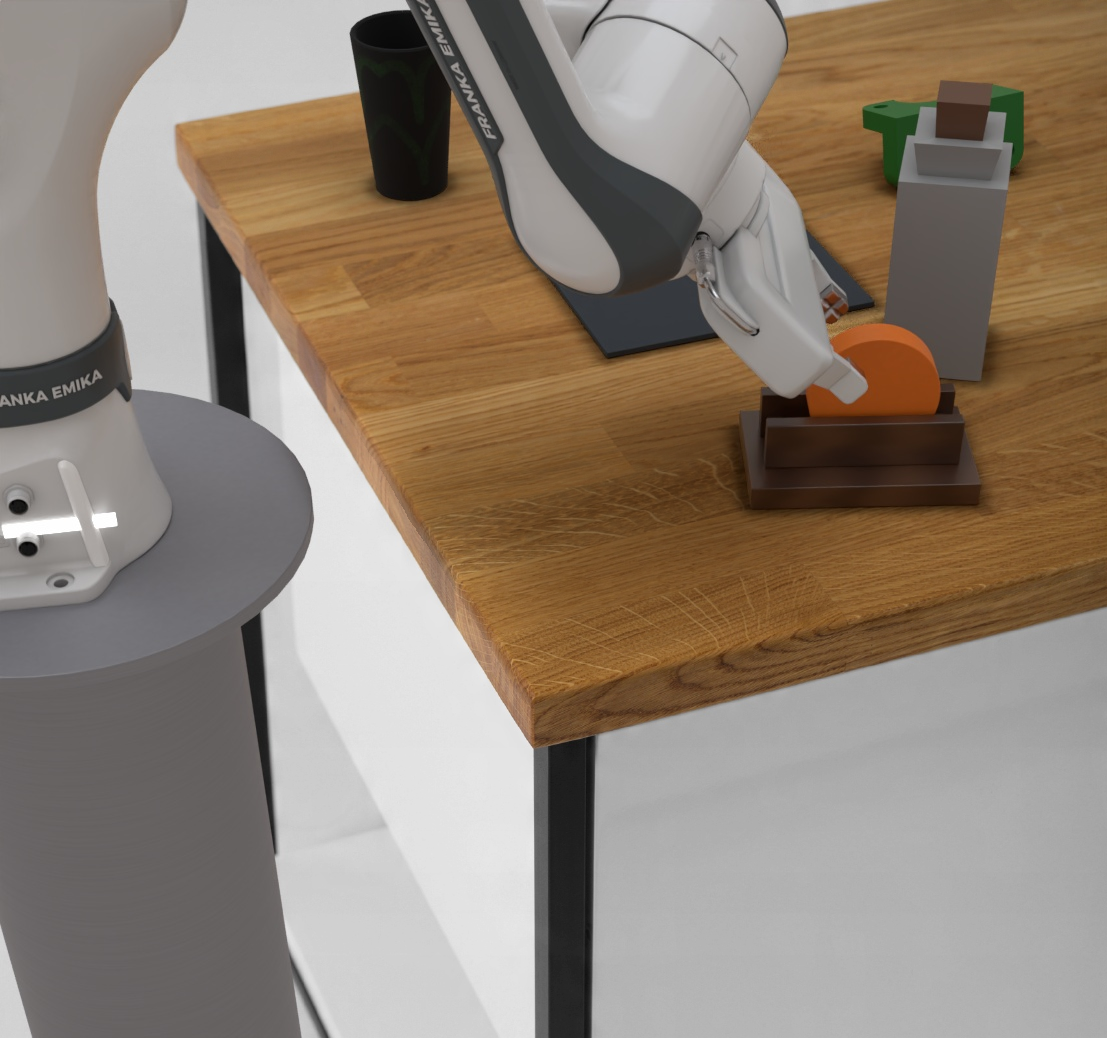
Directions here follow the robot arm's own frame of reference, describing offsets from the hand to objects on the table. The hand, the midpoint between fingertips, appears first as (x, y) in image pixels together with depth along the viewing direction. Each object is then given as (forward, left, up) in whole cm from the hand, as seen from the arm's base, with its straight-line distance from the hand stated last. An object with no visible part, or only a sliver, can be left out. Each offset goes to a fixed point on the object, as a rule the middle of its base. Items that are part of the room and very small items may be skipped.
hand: (848, 350), depth 123 cm
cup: (-14, +48, -9) cm, 51 cm away
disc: (+2, 0, -3) cm, 4 cm away
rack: (+1, 0, -9) cm, 9 cm away
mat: (+1, +27, -9) cm, 28 cm away
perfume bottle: (+12, +11, -9) cm, 19 cm away
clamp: (+25, +36, -9) cm, 45 cm away
